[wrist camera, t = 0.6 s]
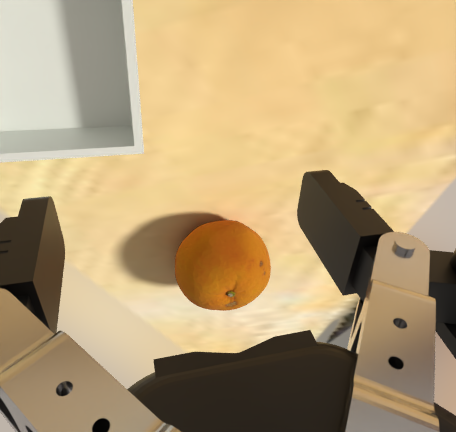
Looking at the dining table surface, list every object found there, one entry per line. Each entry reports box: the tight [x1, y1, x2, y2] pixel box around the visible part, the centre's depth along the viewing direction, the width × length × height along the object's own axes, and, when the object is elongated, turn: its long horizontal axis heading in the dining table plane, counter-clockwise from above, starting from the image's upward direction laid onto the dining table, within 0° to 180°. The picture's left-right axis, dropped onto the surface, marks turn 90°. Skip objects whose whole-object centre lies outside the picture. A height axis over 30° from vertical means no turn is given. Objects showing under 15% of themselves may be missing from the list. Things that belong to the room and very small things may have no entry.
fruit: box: [175, 220, 271, 310], centre depth 44 cm, size 10×10×8 cm
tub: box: [0, 0, 144, 162], centre depth 29 cm, size 14×14×5 cm
